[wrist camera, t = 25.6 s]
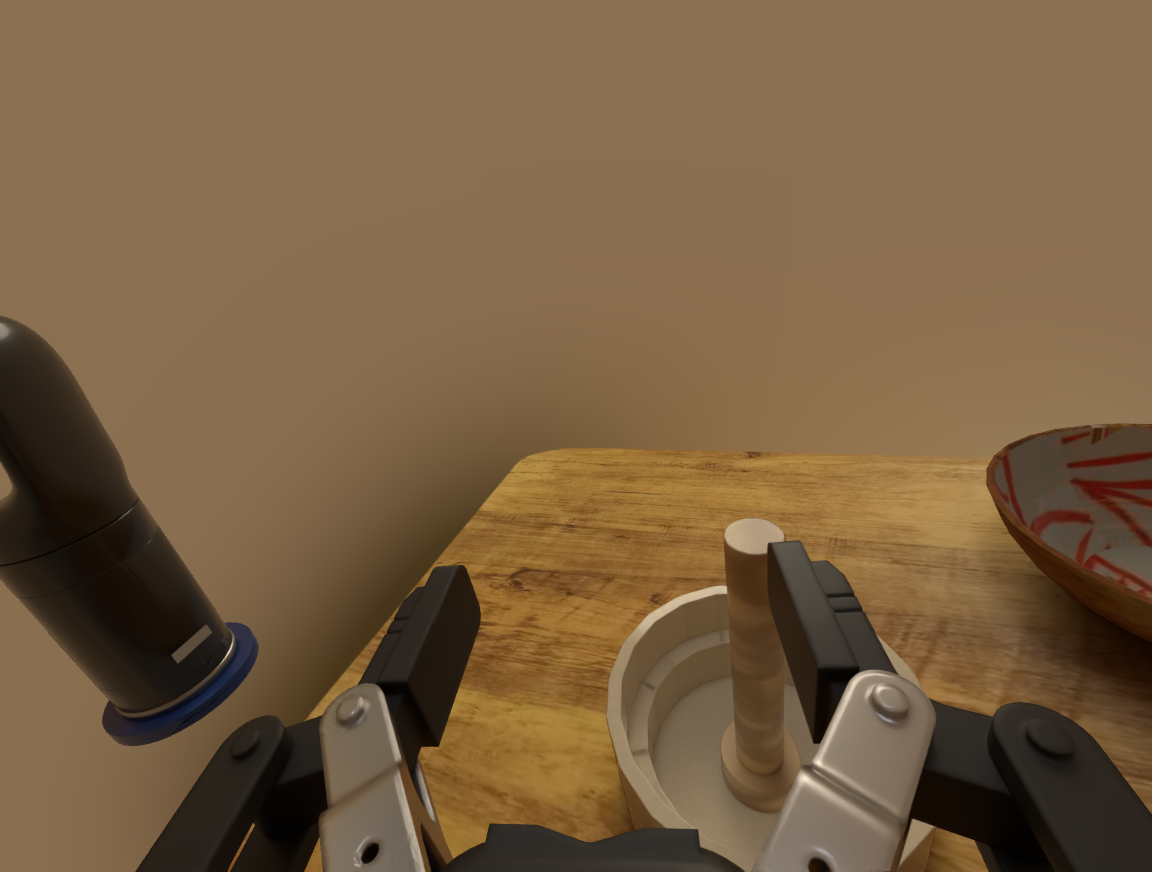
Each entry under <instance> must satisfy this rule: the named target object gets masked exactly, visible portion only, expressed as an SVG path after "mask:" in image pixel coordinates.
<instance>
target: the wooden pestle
mask: <svg viewBox="0 0 1152 872" xmlns="http://www.w3.org/2000/svg"><path fill="white" fill-rule="evenodd" d="M784 541H786V538H785V534H784V532H783V531H782V530H781V528H780V527H778V526H777V525H776V524H774V523H772V522H770V521H767V520H763V519H757V518H747V519H741V520H738V521H735V522H733V523H731V524H730V525H729V526H728V527H727V528H726V530H725V532H724V553H725V569H726V586H727V603H728V620H729V637H730V654H731V671H732V688H733V705H734V722H732V723H731V724H730V725H729V726H728V727H727V728H726V730H725V731H724V733H723V736H722V738H721V746H720V749H721V761H722V772H723V776H724V779H725V782H726V784H727V786H728V788H729V789H730V791H731V792H732V793H733V795H734V796H735V797H736V798H737V799H738V800H739V801H740V802H742V803H743V804H744V805H746V806H748V807H749V808H751V809H754V810H757V811H760V812H766V813H772V812H778V811H780V810H781V808H782V805H783V803H784V801H785V799H786V797H787V795H788V793H789V791H790V789H791V787H792V785H793V782H794V780H795V778H796V776H797V774H798V773H799V771H800V764H801V763H800V755H799V751H798V748H797V746H796V744H795V742H794V741H793V739H792V738H791V736H790V735H789V734H788V733H787V732H786V731H785V730H784V650H783V647H782V644H781V641H780V638H779V635H778V632H777V628H776V625H775V622H774V619H773V616H772V613H771V609H770V604H769V598H768V587H767V546H768V543H770V542H784Z"/></svg>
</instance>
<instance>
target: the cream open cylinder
mask: <svg viewBox="0 0 1152 872" xmlns="http://www.w3.org/2000/svg"><path fill="white" fill-rule="evenodd" d="M876 635H877V634H876ZM877 637H878V638H879V640H880V642H881V644H882V646H883V648H884V650H885V652H886V653H887V655H888V657H889V659H890V661H891V663H892V665H893V666H894V668H895V670H896V671H897V673H898V674H899V675H900V676H902V677H904V678H905V679H907V680H909V681H910V682H912V683H914V684H915V685H916V686H917V687H918V688H920V689H921V690H922V691H923V692H924V690H923V688H922V686H921V685H920V683H919V681H918V679H917V677H916V676H915V674H914V672H913V671H912V670H911V669H910V668H909V667H908V665H907V664H906V663H905V662H904V661H903V660H902V659H901V658H900V657H899V656H898V655H897V654H896V653H895V652H894V651H893V650H892V649H891V648H890V647H889V646H888V645H887V644H886V643H885V642H884V641H883V640H882V639H881V638H880V637H879V636H878V635H877ZM924 693H925V692H924ZM925 694H926V693H925ZM926 696H927V695H926ZM606 719H607V724H608V729H609V733H610V737H611V741H612V745H613V750H614V754H615V758H616V762H617V766H618V771H619V775H620V779H621V783H622V787H623V791H624V795H625V799H626V803H627V806H628V810H629V814H630V817H631V821H632V825H633V828H634V830H638V829H641V828H678V829H698V831H699V839H700V847H702V848H705V849H708V850H711V851H713V852H715V853H717V854H719V855H721V856H723V857H725V858H727V859H728V860H730V861H731V862H733V863H734V864H736V865H737V866H739V867H740V868H742V869H743V870H744V871H745V872H751V871H752V868H753V866H754V864H755V862H756V860H757V858H758V856H759V854H760V852H761V850H762V847H763V845H764V843H765V841H766V839H767V837H768V835H769V833H770V831H771V829H772V826H773V824H774V822H775V820H776V818H777V816H778V814H779V812H780V811H778V812H772V813H766V812H760V811H757V810H754V809H751V808H749V807H748V806H746V805H744V804H743V803H742V802H740V801H739V800H738V799H737V798H736V797H735V796H734V795H733V793H732V792H731V791H730V789H729V788H728V786H727V784H726V782H725V779H724V776H723V772H722V761H721V749H720V746H721V738H722V736H723V733H724V731H725V730H726V728H727V727H728V726H729V725H730V724H731V723H732V722H734V705H733V688H732V671H731V654H730V637H729V620H728V603H727V586H713V587H709V588H706V589H702V590H699V591H695V592H692V593H689V594H685V595H682V596H678V597H676V598H675V599H673V600H671V601H670V602H668V603H666V604H665V605H663V606H662V607H660V608H658V609H657V610H655V611H653V612H652V613H650V614H649V615H647V616H646V617H645V619H644V620H643V621H642V622H641V623H640V624H639V625H638V627H637V628H636V629H635V630H634V631H633V632H632V633H631V634H630V636H629V637H628V638H627V639H626V640H625V641H624V643H623V645H622V647H621V650H620V652H619V655H618V657H617V659H616V662H615V664H614V667H613V669H612V671H611V674H610V676H609V683H608V700H607V718H606ZM784 730H785V731H786V732H787V733H788V734H789V735H790V736H791V738H792V739H793V741H794V742H795V744H796V746H797V748H798V751H799V755H800V763H801V764H800V770H801V768H802V767H803V766H804V765H810V763H811V762H812V760H813V758H814V756H815V754H816V752H817V750H818V747H819V745H820V744H813V741H812V738H811V734H810V731H809V728H808V725H807V722H806V719H805V716H804V713H803V709H802V706H801V703H800V700H799V697H798V694H797V691H796V688H795V685H794V681H793V678H792V675H791V672H790V669H789V666H788V663H787V660H786V656H785V653H784ZM935 831H936V827H935V826H932V825H929V824H926V823H923V822H920V821H918V820H915V819H913V820H912V823H911V826H910V830H909V833H908V837H907V840H906V844H905V847H904V850H903V854H902V857H901V861H900V864H899V868H898V871H897V872H925V869H926V865H927V861H928V857H929V853H930V850H931V846H932V842H933V838H934V834H935Z"/></svg>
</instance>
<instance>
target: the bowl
mask: <svg viewBox="0 0 1152 872" xmlns="http://www.w3.org/2000/svg"><path fill="white" fill-rule="evenodd" d="M987 487H988V489H989V492H990V494H991V496H992V498H993V501H994V503H995V505H996V507H997V509H998V512H999V514H1000V516H1001V518H1002V520H1003V522H1004V524H1005V526H1006V527H1007V529H1008V531H1009V533H1010V534H1011V536H1012V537H1013V538H1014V539H1015V540H1016V542H1017V543H1018V544H1019V545H1020V546H1021V548H1022V549H1023V550H1024V551H1025V552H1026V554H1027V555H1028V556H1029V557H1030V558H1031V560H1032V561H1033V562H1034V563H1035V564H1036V566H1037V567H1038V568H1039V569H1040V570H1041V571H1043V572H1044V573H1045V574H1046V575H1047V576H1049V577H1050V578H1051V579H1052V580H1053V581H1054V582H1056V583H1057V584H1058V585H1059V586H1060V587H1061V588H1063V589H1064V590H1065V591H1066V592H1067V593H1069V594H1070V595H1071V596H1072V597H1073V598H1074V599H1076V600H1077V601H1079V602H1080V603H1082V604H1083V605H1085V606H1086V607H1088V608H1089V609H1091V610H1092V611H1094V612H1095V613H1097V614H1098V615H1100V616H1101V617H1103V618H1104V619H1106V620H1108V621H1110V622H1112V623H1114V624H1116V625H1117V626H1119V627H1121V628H1123V629H1125V630H1127V631H1129V632H1131V633H1132V634H1134V635H1136V636H1138V637H1140V638H1142V639H1145V640H1147V641H1149V642H1152V424H1103V425H1102V424H1101V425H1084V426H1076V427H1069V428H1061V429H1054V430H1050V431H1046V432H1042V433H1038V434H1034V435H1030V436H1027V437H1025V438H1022V439H1020V440H1018V441H1015V442H1013V443H1011V444H1009V445H1007V446H1006V447H1005V448H1003V449H1002V450H1001V451H999V452H998V453H997V454H996V455H994V457H993V459H992V460H991V462H990V464H989V466H988V468H987Z"/></svg>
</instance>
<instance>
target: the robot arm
mask: <svg viewBox="0 0 1152 872" xmlns="http://www.w3.org/2000/svg"><path fill="white" fill-rule="evenodd" d="M0 463H1V464H2V466H3V468H4V469H5V471H6V473H7V474H8V476H9V479H10V481H11V483H12V490H11V492H10V493H9V495H8V496H6V497H4V498H3V499H1V500H0V580H1V581H2V582H3V583H4V584H5V585H6V586H7V588H8V589H9V590H10V591H11V592H12V593H13V594H14V595H15V596H16V597H17V598H18V599H19V600H20V601H21V603H23V605H24V606H25V607H26V608H27V609H28V610H29V611H30V612H31V613H32V614H33V616H34V617H35V618H36V619H37V620H38V621H39V622H40V623H41V625H42V626H43V627H44V628H45V629H46V630H47V631H48V633H49V635H50V636H51V637H52V638H53V639H54V640H55V641H56V642H57V643H58V644H59V645H60V647H61V648H62V649H63V650H64V651H65V652H66V653H67V654H68V655H69V657H70V658H71V659H72V660H73V661H74V662H75V663H76V664H77V665H78V666H79V667H80V669H81V670H82V671H83V672H84V673H85V674H86V675H87V676H88V677H89V678H90V680H91V681H92V682H93V683H94V684H95V685H96V686H97V687H98V688H99V689H100V691H101V692H102V693H103V694H104V695H105V696H106V697H107V698H108V699H109V700H110V702H111V703H112V704H114V706H115V709H116V710H117V711H118V712H119V713H120V714H121V715H122V716H123V718H125V719H127V720H130V721H144V720H149V719H153V718H156V717H159V716H162V715H164V714H167V713H169V712H171V711H173V710H175V709H177V708H179V707H181V706H183V705H184V704H186V703H188V702H189V701H191V700H192V699H194V698H195V697H197V696H198V695H199V694H201V693H202V692H203V691H205V690H206V689H207V688H208V687H209V686H211V685H212V684H213V683H214V682H215V681H216V680H217V679H218V678H219V677H220V676H221V675H222V674H223V673H224V672H225V670H226V669H227V668H228V666H229V665H230V664H231V662H232V660H233V659H234V657H235V655H236V652H237V649H238V641H237V638H236V637H235V635H234V634H233V632H232V631H231V630H230V629H229V628H228V627H227V626H226V624H225V623H224V621H223V620H222V618H221V617H220V615H219V614H218V613H217V611H216V609H215V608H214V606H213V605H212V603H211V602H210V600H209V599H208V598H207V596H206V595H205V593H204V592H203V590H202V589H201V587H200V586H199V584H198V583H197V582H196V580H195V578H194V577H193V575H192V574H191V572H190V571H189V570H188V568H187V567H186V565H185V564H184V562H183V561H182V559H181V558H180V556H179V555H178V553H177V552H176V550H175V549H174V547H173V546H172V545H171V543H170V542H169V540H168V539H167V537H166V536H165V534H164V533H163V532H162V530H161V528H160V527H159V525H157V523H156V521H155V520H154V518H153V517H152V516H151V514H150V513H149V511H148V510H147V508H146V507H145V505H144V504H143V502H142V501H141V499H140V498H139V497H138V496H137V494H136V492H135V491H134V489H133V488H132V486H131V485H130V483H129V480H128V477H127V474H126V471H125V468H124V464H123V461H122V459H121V456H120V454H119V452H118V450H117V448H116V447H115V445H114V443H113V442H112V440H111V439H110V437H109V435H108V434H107V432H106V430H105V429H104V427H103V425H102V424H101V422H100V421H99V419H98V417H97V415H96V413H95V412H94V410H93V408H92V406H91V405H90V403H89V401H88V400H87V398H86V396H85V394H84V392H83V390H82V389H81V387H80V385H79V384H78V382H77V381H76V379H75V377H74V376H73V374H72V372H71V371H70V369H69V368H68V366H67V365H66V364H65V362H64V361H63V360H62V358H61V357H60V356H59V354H58V353H57V352H56V351H55V350H54V349H53V348H52V347H51V346H50V344H48V342H46V341H45V340H44V339H43V338H42V337H41V336H39V335H38V334H37V333H36V332H34V331H33V330H31V329H30V328H28V327H27V326H25V325H23V324H22V323H20V322H17V321H15V320H13V319H10V318H7V317H4V316H0ZM767 587H768V598H769V604H770V609H771V613H772V616H773V619H774V622H775V625H776V628H777V632H778V635H779V638H780V641H781V644H782V647H783V650H784V653H785V656H786V660H787V663H788V666H789V669H790V672H791V675H792V678H793V681H794V685H795V688H796V691H797V694H798V697H799V700H800V703H801V706H802V709H803V713H804V716H805V719H806V722H807V725H808V728H809V731H810V734H811V738H812V741H813V744H820V745H819V747H818V750H817V752H816V754H815V756H814V758H813V760H812V762H811V763H810V765H804V766H803V767H802V768H801V770H800V771H799V773H798V774H797V776H796V778H795V780H794V782H793V785H792V787H791V789H790V791H789V793H788V795H787V797H786V799H785V801H784V803H783V805H782V808H781V810H780V812H779V814H778V816H777V818H776V820H775V822H774V824H773V826H772V829H771V831H770V833H769V835H768V837H767V839H766V841H765V843H764V845H763V847H762V850H761V852H760V854H759V856H758V858H757V860H756V862H755V864H754V866H753V868H752V871H751V872H897V871H898V868H899V864H900V861H901V857H902V854H903V850H904V847H905V844H906V840H907V837H908V833H909V830H910V826H911V823H912V820H913V819H915V820H918V821H920V822H923V823H926V824H929V825H932V826H935V827H938V828H941V829H944V830H947V831H949V832H952V833H955V834H958V835H961V836H964V837H967V838H970V839H973V840H975V842H976V845H977V847H978V849H979V851H980V853H981V855H982V858H983V860H984V862H985V864H986V866H987V868H988V871H989V872H1152V814H1151V813H1150V811H1149V810H1148V809H1147V807H1146V806H1145V805H1144V803H1143V802H1142V801H1141V799H1140V798H1139V797H1138V795H1137V794H1136V793H1135V791H1134V790H1133V789H1132V788H1131V786H1130V785H1129V784H1128V782H1127V781H1126V780H1125V778H1124V777H1123V776H1122V774H1121V773H1120V772H1119V770H1118V769H1117V768H1116V766H1115V765H1114V764H1113V762H1112V761H1111V760H1110V758H1109V757H1108V756H1107V754H1106V753H1105V752H1104V750H1103V749H1102V748H1101V746H1100V745H1099V744H1098V743H1097V742H1096V740H1095V739H1094V738H1093V737H1092V736H1091V735H1090V734H1089V733H1088V732H1087V731H1086V730H1084V729H1083V728H1082V727H1081V726H1079V725H1078V724H1077V723H1075V722H1074V721H1072V720H1071V719H1069V718H1068V717H1066V716H1064V715H1062V714H1060V713H1058V712H1056V711H1054V710H1051V709H1049V708H1046V707H1043V706H1040V705H1036V704H1031V703H1023V702H1016V703H1009V704H1006V705H1003V706H1001V707H1000V708H999V709H998V710H997V711H996V712H995V714H994V716H993V717H991V716H987V715H983V714H979V713H975V712H971V711H967V710H963V709H959V708H955V707H951V706H947V705H944V704H941V703H938V702H936V701H934V700H931V699H929V698H928V697H927V696H926V694H925V693H924V692H923V691H922V690H921V689H920V688H918V687H917V686H916V685H915V684H914V683H912V682H910V681H909V680H907V679H905V678H904V677H902V676H900V675H899V674H898V673H897V671H896V670H895V668H894V666H893V665H892V663H891V661H890V659H889V657H888V655H887V653H886V652H885V650H884V648H883V646H882V644H881V642H880V640H879V638H878V637H877V635H876V633H875V631H874V629H873V627H872V625H871V624H870V622H869V620H868V618H867V616H866V614H865V612H863V611H862V607H861V605H860V603H859V601H858V599H857V597H855V595H854V592H853V590H852V588H851V586H850V584H849V583H848V581H847V579H846V577H845V575H844V574H843V573H841V572H840V571H839V570H838V569H837V568H835V567H834V566H833V565H832V564H831V563H830V562H828V561H827V560H825V561H810V559H809V557H808V555H807V552H806V550H805V548H804V546H803V544H802V542H801V541H784V542H770V543H768V546H767ZM480 619H481V613H480V606H479V602H478V600H477V597H476V594H475V591H474V589H473V586H472V583H471V580H470V577H469V575H468V572H467V569H466V568H465V566H463V565H453V566H439V567H435V568H434V569H433V571H432V573H431V574H430V576H429V578H428V580H427V582H426V584H425V586H424V587H417V588H416V589H415V590H414V591H413V592H412V593H411V594H410V595H409V596H408V597H407V598H406V599H405V600H404V601H403V603H402V604H401V606H400V608H399V610H398V612H397V614H396V615H395V617H394V621H392V623H391V625H390V626H389V628H388V630H387V635H385V636H384V637H383V639H382V641H381V643H380V645H379V647H378V649H377V650H376V652H375V654H374V656H373V658H372V660H371V661H370V663H369V665H368V667H367V669H366V671H365V672H364V674H363V676H362V678H361V680H360V682H359V683H358V685H356V686H353V687H351V688H349V689H347V690H346V691H344V692H343V693H341V694H340V695H339V696H337V697H336V698H335V699H334V700H333V701H332V702H331V703H330V705H329V706H328V707H327V708H326V710H325V712H324V713H323V715H322V716H319V717H316V718H313V719H310V720H307V721H304V722H302V723H298V724H296V725H292V726H289V727H286V728H285V726H284V725H283V724H282V722H281V721H280V720H279V718H277V717H275V716H262V717H259V718H255V719H253V720H251V721H249V722H247V723H245V724H244V725H242V726H241V727H239V728H238V729H237V730H236V731H234V732H233V733H232V734H231V735H230V736H229V737H228V738H227V739H226V740H225V741H224V742H223V744H222V745H221V746H220V748H219V749H218V750H217V752H216V753H215V755H214V756H213V758H212V759H211V761H210V762H209V764H208V765H207V767H206V768H205V770H204V771H203V772H202V774H201V775H200V777H199V778H198V780H197V781H196V783H195V784H194V786H193V787H192V789H191V790H190V792H189V793H188V795H187V796H186V798H185V799H184V801H183V802H182V804H181V805H180V807H179V808H178V809H177V811H176V812H175V814H174V815H173V817H172V818H171V820H170V821H169V823H168V824H167V826H166V827H165V829H164V830H163V832H162V833H161V835H160V836H159V838H158V839H157V841H156V842H155V843H154V845H153V846H152V848H151V849H150V851H149V853H148V854H147V855H146V857H145V858H144V860H143V861H142V863H141V864H140V866H139V867H138V869H137V870H136V872H227V871H228V869H229V866H230V864H231V862H232V860H233V858H234V857H235V855H236V853H237V851H238V849H239V847H240V846H241V844H242V842H243V840H244V838H245V836H246V835H247V833H248V831H249V829H250V827H251V825H252V824H253V823H254V824H255V827H254V829H253V830H252V832H251V834H250V836H249V838H248V840H247V842H246V844H245V845H244V847H243V849H242V851H241V853H240V855H239V857H238V858H237V860H236V862H235V864H234V866H233V868H232V870H231V871H230V872H304V871H305V869H306V866H307V864H308V862H309V860H310V857H311V855H312V853H313V850H314V848H315V846H316V843H317V841H318V839H319V836H320V845H321V855H322V866H323V872H745V871H744V870H743V869H742V868H740V867H739V866H737V865H736V864H734V863H733V862H731V861H730V860H728V859H727V858H725V857H723V856H721V855H719V854H717V853H715V852H713V851H711V850H708V849H705V848H702V847H700V839H699V831H698V829H678V828H641V829H638V830H634V831H631V832H627V833H624V834H620V835H617V836H613V837H610V838H606V839H603V840H599V841H596V842H584V841H581V840H578V839H575V838H573V837H570V836H567V835H564V834H562V833H559V832H556V831H553V830H551V829H548V828H545V827H542V826H540V825H523V824H489V828H488V833H487V838H486V842H485V843H481V844H479V845H477V846H475V847H472V848H470V849H468V850H467V851H465V852H463V853H462V854H460V855H458V856H457V857H456V858H454V859H453V858H452V855H451V853H450V851H449V848H448V846H447V844H446V841H445V838H444V836H443V833H442V830H441V826H440V823H439V820H438V817H437V813H436V810H435V807H434V804H433V800H432V797H431V794H430V791H429V787H428V784H427V781H426V778H425V774H424V771H423V768H422V765H421V762H420V760H419V759H418V754H419V752H420V749H421V747H439V744H440V741H441V738H442V735H443V732H444V729H445V726H446V724H447V721H448V718H449V715H450V712H451V709H452V706H453V703H454V700H455V697H456V694H457V691H458V688H459V686H460V683H461V680H462V677H463V674H464V671H465V668H466V665H467V662H468V659H469V656H470V653H471V650H472V648H473V645H474V642H475V639H476V636H477V633H478V630H479V626H480Z"/></svg>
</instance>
